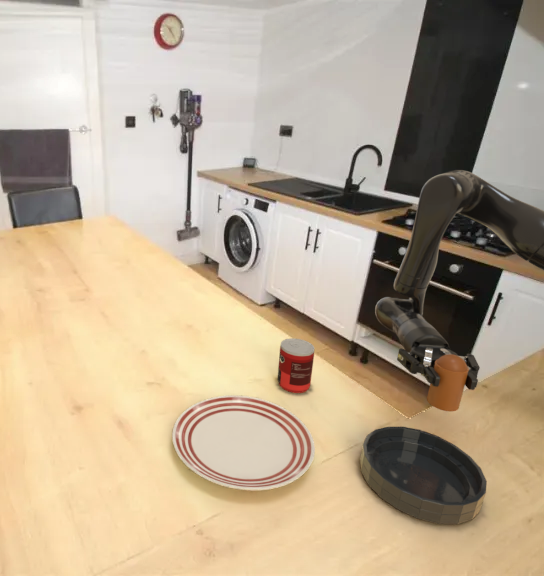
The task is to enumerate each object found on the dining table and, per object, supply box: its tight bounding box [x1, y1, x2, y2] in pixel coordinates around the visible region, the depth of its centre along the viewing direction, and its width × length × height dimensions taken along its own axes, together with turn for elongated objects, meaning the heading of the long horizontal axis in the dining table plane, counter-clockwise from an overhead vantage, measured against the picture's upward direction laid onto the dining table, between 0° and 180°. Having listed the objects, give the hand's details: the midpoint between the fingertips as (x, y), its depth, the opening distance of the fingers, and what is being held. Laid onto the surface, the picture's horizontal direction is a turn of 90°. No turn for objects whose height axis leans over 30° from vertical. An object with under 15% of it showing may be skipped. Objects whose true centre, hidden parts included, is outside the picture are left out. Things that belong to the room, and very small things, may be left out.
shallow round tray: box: [359, 426, 488, 525], centre depth 72 cm, size 18×18×4 cm
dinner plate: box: [171, 394, 316, 491], centre depth 81 cm, size 28×27×3 cm
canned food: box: [277, 337, 315, 394], centre depth 100 cm, size 8×8×11 cm
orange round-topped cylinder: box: [426, 354, 469, 412], centre depth 77 cm, size 5×5×10 cm
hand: (455, 383), depth 75 cm, fingers closed on orange round-topped cylinder, 5 cm apart
